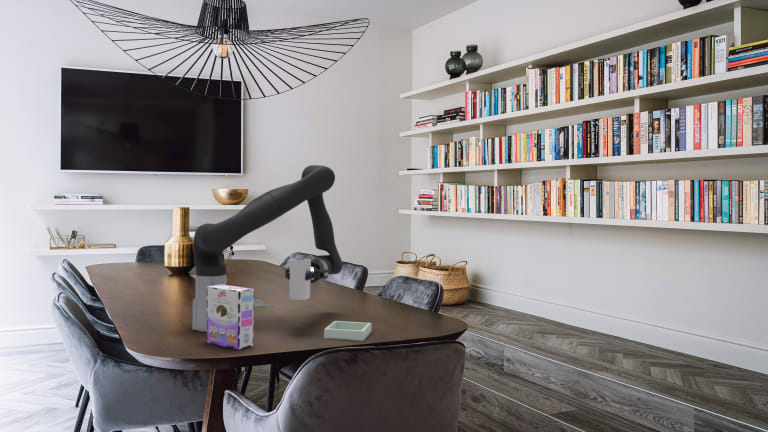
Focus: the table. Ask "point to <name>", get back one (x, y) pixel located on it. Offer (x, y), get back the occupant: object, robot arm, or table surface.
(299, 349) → the table surface
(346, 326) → the tray
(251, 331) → the candy box
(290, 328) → the table surface
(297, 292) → the bored block
